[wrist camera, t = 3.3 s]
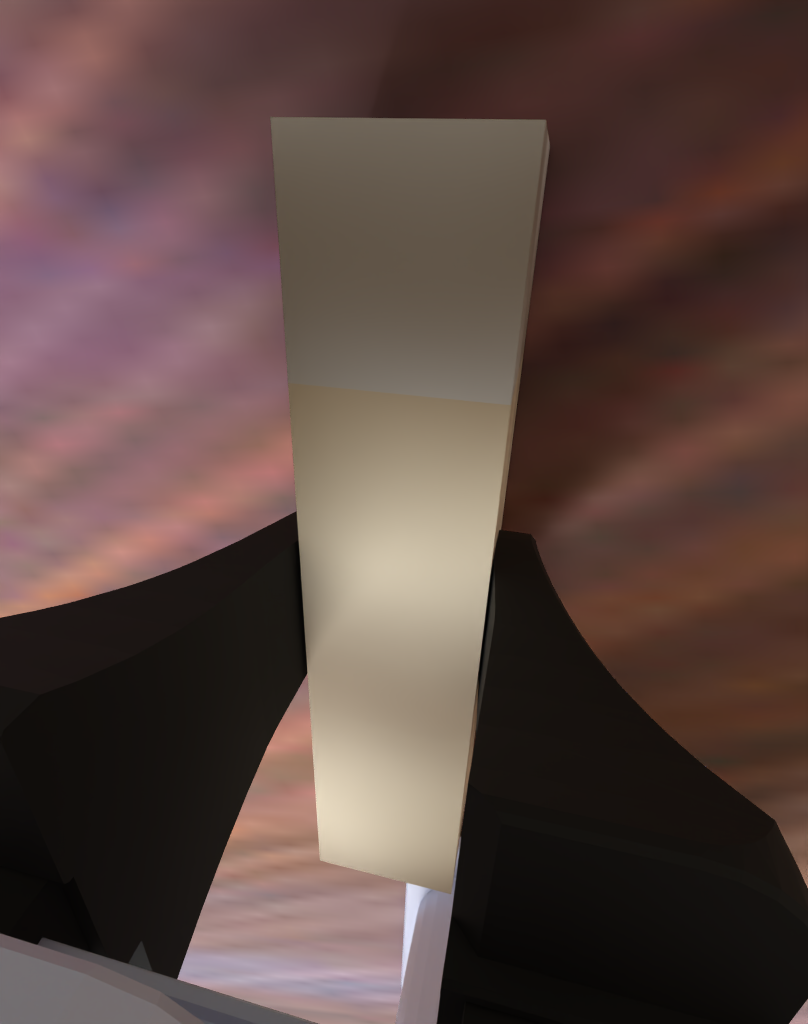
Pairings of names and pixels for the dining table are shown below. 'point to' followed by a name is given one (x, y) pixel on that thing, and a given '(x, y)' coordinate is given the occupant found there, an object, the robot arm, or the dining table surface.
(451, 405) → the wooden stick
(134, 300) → the dining table surface
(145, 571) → the dining table surface
